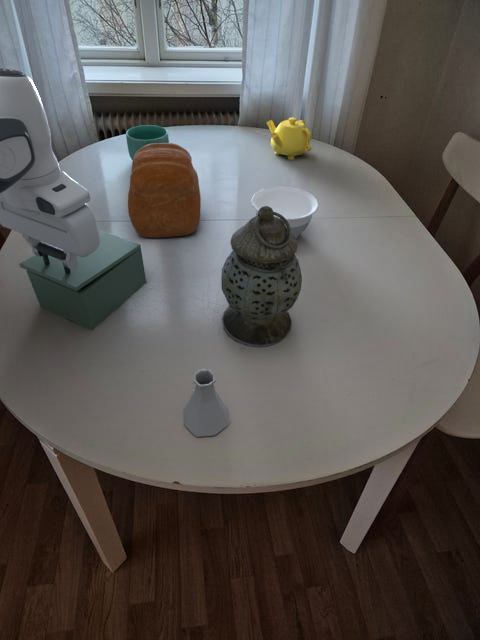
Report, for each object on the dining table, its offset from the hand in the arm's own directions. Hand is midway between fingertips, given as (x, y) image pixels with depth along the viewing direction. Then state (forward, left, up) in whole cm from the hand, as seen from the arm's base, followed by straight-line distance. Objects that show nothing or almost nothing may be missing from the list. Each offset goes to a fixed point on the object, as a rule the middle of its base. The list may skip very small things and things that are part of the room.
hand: (56, 260), depth 76 cm
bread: (+28, +28, -13) cm, 41 cm away
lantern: (+32, -17, -13) cm, 38 cm away
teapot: (+77, +53, -13) cm, 94 cm away
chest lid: (+5, +4, -3) cm, 7 cm away
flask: (+15, -33, -13) cm, 38 cm away
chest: (+5, +4, -12) cm, 14 cm away
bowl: (+52, +10, -13) cm, 54 cm away
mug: (+33, +60, -13) cm, 70 cm away
